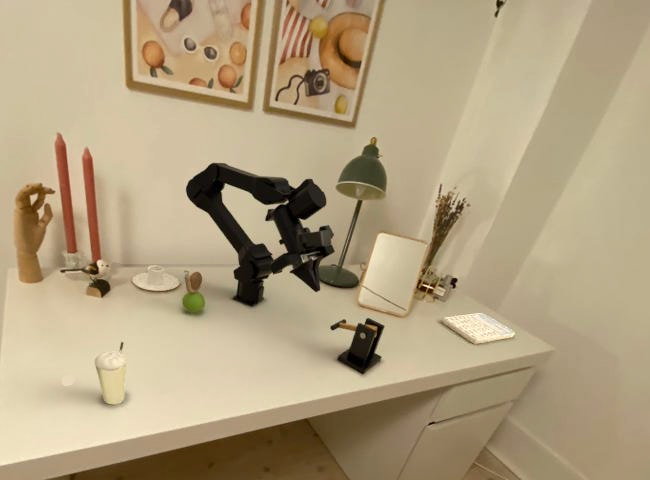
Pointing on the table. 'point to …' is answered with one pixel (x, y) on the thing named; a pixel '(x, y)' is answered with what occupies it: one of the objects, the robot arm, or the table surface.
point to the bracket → (363, 347)
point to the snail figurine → (193, 293)
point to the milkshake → (112, 375)
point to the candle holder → (156, 279)
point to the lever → (349, 326)
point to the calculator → (478, 328)
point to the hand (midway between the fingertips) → (318, 291)
